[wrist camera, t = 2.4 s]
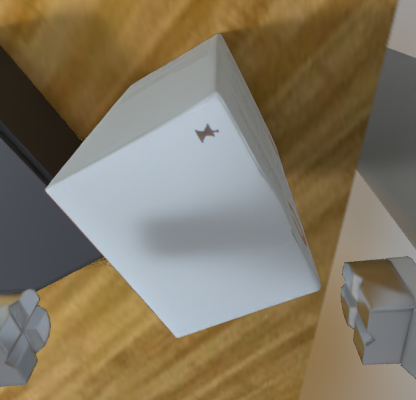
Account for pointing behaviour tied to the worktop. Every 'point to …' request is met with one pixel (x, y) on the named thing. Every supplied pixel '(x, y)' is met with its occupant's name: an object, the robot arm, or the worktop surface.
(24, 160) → the dark gray box
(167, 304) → the small box
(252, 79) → the worktop surface
